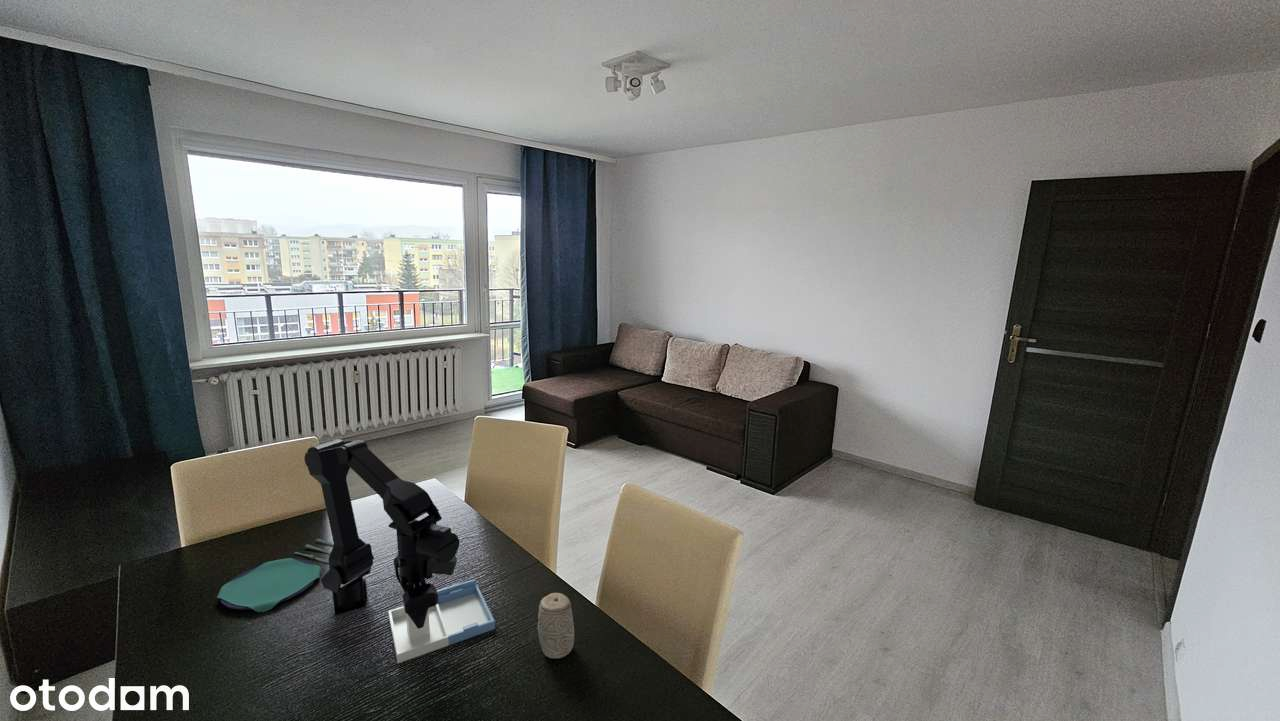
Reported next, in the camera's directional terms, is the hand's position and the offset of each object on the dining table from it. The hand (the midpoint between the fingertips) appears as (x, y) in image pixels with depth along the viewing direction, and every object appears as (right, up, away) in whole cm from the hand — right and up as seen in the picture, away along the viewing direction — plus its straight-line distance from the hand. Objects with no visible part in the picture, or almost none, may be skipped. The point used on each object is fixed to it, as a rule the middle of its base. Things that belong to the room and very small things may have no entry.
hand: (417, 614), depth 110 cm
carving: (+31, -6, -3) cm, 32 cm away
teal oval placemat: (-41, -1, +20) cm, 45 cm away
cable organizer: (+4, -4, +3) cm, 7 cm away
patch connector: (0, -4, +1) cm, 4 cm away
